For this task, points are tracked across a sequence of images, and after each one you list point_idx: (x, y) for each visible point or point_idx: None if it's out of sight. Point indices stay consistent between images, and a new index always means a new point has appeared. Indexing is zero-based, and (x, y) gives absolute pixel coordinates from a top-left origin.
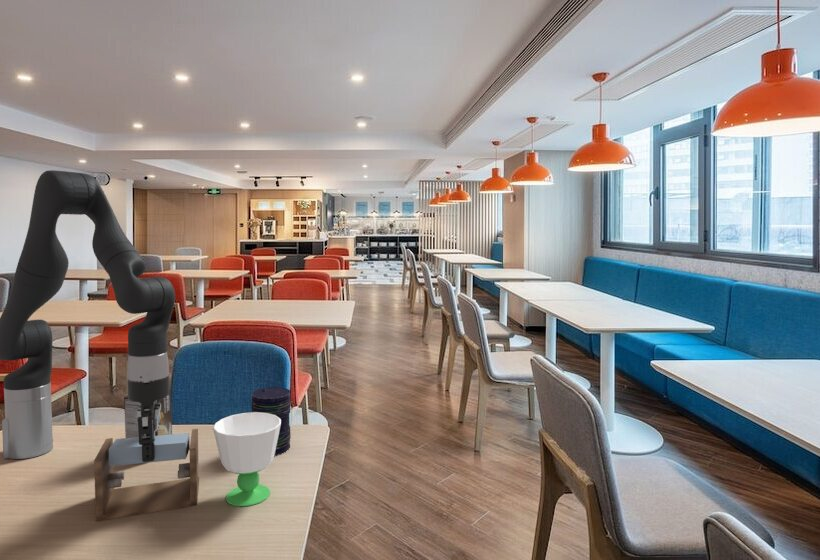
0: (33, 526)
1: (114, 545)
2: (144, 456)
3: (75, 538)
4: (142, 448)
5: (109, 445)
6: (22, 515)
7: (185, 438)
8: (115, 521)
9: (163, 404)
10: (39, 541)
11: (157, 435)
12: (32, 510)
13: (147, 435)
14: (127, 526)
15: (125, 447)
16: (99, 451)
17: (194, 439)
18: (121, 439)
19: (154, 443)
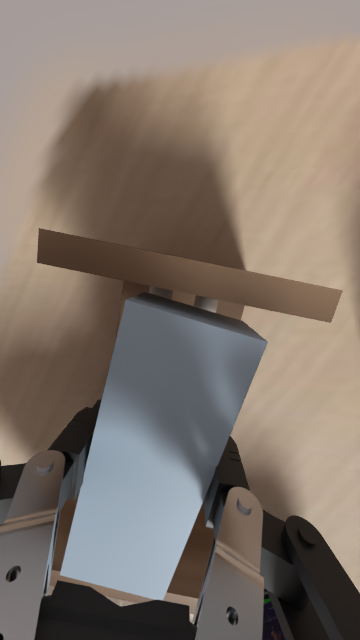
0: (171, 129)
1: (23, 287)
2: (74, 419)
3: (78, 220)
4: (74, 436)
5: (240, 303)
6: (243, 95)
7: (106, 581)
8: (111, 291)
9: None
10: (97, 150)
11: (204, 506)
12: (258, 117)
13: (215, 476)
14: (81, 311)
15: (109, 375)
16: (156, 254)
17: (108, 591)
18: (243, 365)
19: (78, 491)
